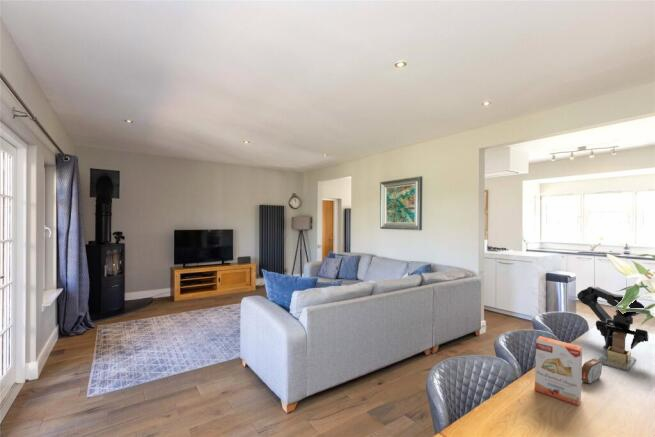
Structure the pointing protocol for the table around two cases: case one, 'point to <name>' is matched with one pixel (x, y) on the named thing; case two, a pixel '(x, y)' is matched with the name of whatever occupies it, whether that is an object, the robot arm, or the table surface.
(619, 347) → the brown square block
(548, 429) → the table surface
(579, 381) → the cracker box
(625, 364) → the base plate
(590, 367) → the tin
